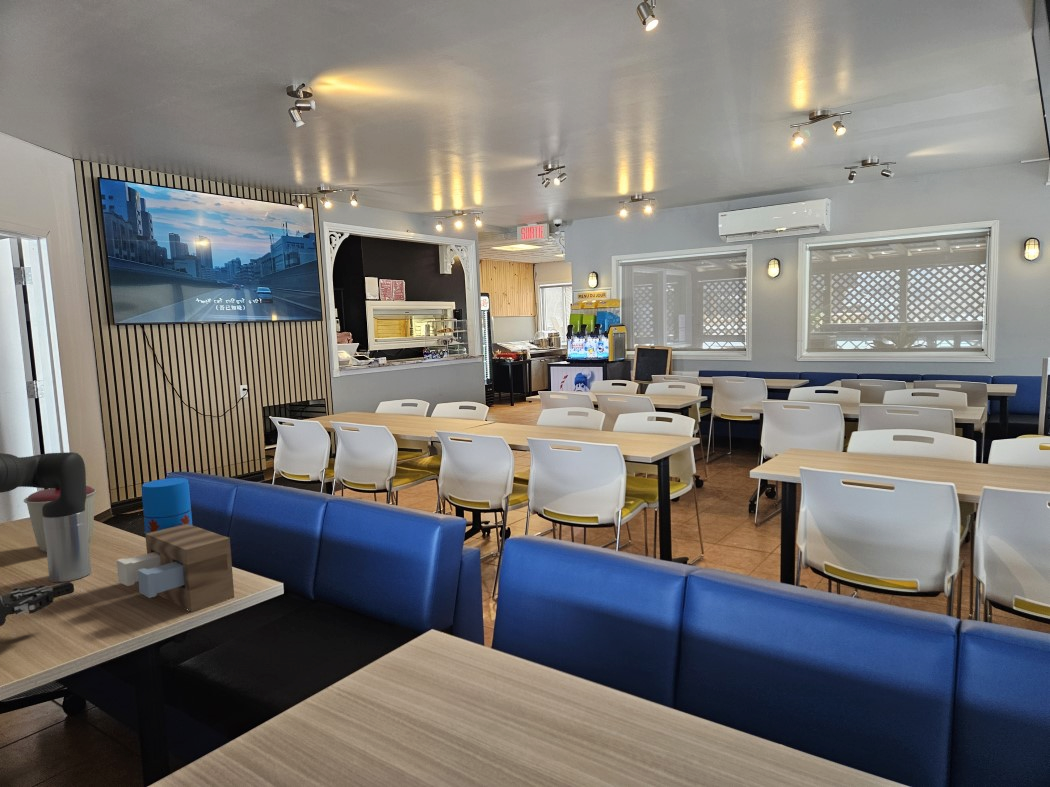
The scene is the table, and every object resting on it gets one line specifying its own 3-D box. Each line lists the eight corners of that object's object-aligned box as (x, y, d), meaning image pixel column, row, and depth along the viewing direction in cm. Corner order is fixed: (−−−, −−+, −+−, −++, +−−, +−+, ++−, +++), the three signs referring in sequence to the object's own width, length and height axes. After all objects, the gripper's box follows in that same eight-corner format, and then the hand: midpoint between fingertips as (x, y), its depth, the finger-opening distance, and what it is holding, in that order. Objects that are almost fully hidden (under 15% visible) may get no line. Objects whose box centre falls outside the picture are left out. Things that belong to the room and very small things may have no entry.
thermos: (176, 584, 164) (167, 487, 162) (139, 582, 166) (130, 487, 164) (205, 569, 175) (197, 477, 172) (170, 567, 177) (162, 477, 175)
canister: (26, 548, 199) (18, 480, 197) (95, 534, 211) (89, 470, 209) (33, 562, 186) (25, 489, 184) (107, 546, 198) (100, 478, 196)
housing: (150, 590, 161) (145, 533, 159) (191, 578, 168) (187, 523, 167) (191, 612, 147) (186, 549, 146) (234, 597, 155) (229, 537, 153)
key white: (118, 581, 153) (116, 560, 152) (169, 566, 162) (168, 546, 161) (127, 586, 150) (125, 564, 149) (179, 570, 158) (177, 550, 158)
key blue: (139, 592, 145) (137, 570, 145) (192, 576, 154) (190, 555, 154) (149, 598, 142) (147, 574, 142) (202, 581, 151) (200, 559, 150)
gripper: (-22, 604, 125) (81, 576, 139) (-39, 589, 134) (60, 564, 147) (-18, 641, 126) (85, 610, 139) (-35, 624, 134) (64, 596, 148)
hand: (72, 586), depth 143 cm, fingers closed
